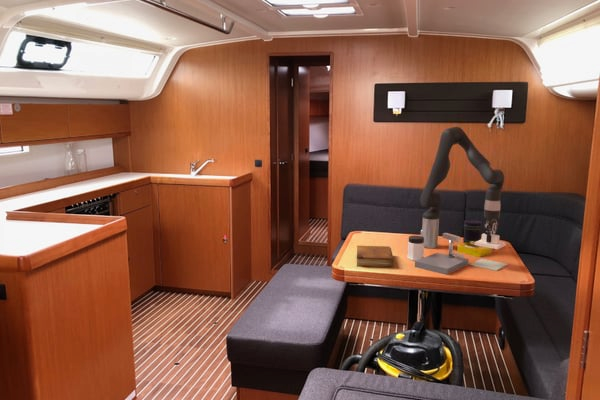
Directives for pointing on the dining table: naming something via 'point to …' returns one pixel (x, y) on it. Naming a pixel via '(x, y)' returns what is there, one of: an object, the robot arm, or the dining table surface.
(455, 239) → the t key
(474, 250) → the element tile
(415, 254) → the jar
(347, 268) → the dining table surface
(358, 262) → the diary
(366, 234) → the dining table surface
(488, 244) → the cover
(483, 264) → the mat
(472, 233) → the storage jar
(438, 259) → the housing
